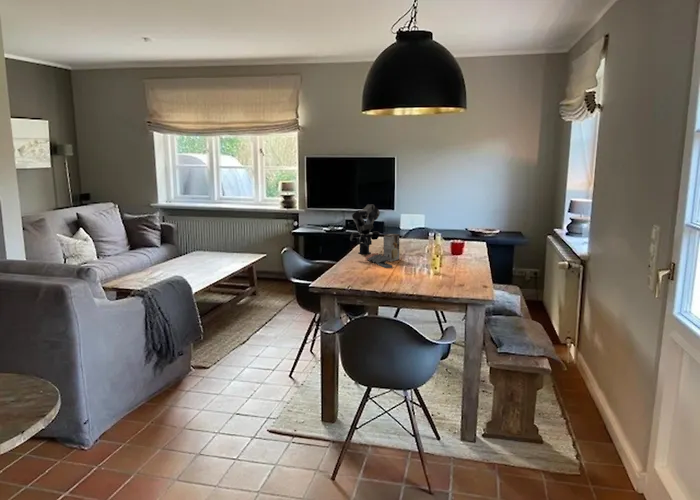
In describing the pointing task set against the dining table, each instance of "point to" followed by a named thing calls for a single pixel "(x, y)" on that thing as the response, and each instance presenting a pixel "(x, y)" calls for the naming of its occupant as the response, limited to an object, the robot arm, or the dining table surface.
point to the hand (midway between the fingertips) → (368, 246)
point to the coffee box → (391, 246)
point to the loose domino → (370, 255)
